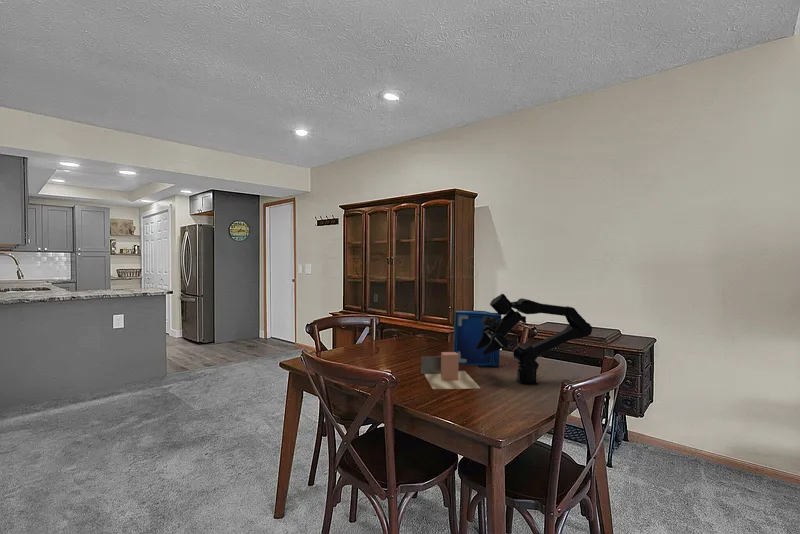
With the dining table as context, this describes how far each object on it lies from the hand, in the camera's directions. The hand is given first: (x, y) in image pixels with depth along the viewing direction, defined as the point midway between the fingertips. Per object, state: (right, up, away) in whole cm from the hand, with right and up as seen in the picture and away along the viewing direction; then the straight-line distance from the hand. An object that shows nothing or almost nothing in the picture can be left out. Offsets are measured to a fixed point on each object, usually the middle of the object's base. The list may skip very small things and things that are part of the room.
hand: (479, 351), depth 167 cm
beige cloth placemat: (-12, -12, +1) cm, 17 cm away
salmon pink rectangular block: (-12, -11, +2) cm, 16 cm away
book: (+4, -12, +27) cm, 30 cm away
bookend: (-17, -11, +9) cm, 22 cm away
